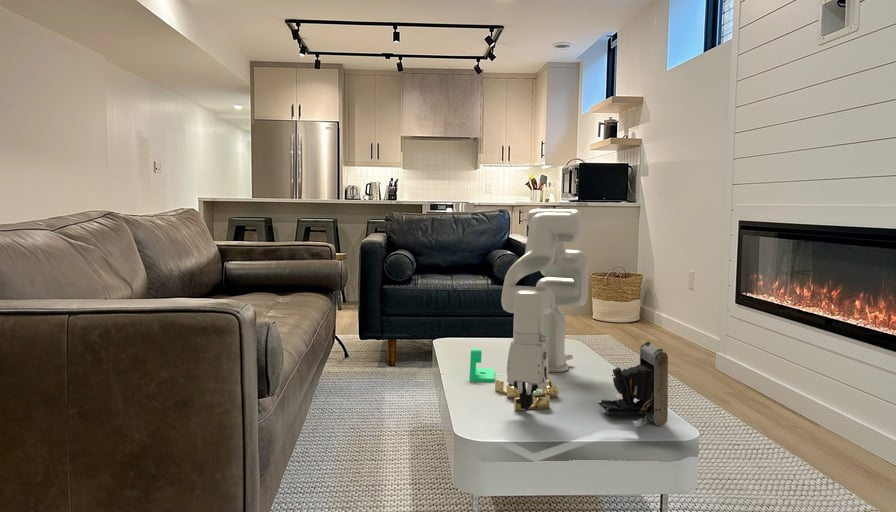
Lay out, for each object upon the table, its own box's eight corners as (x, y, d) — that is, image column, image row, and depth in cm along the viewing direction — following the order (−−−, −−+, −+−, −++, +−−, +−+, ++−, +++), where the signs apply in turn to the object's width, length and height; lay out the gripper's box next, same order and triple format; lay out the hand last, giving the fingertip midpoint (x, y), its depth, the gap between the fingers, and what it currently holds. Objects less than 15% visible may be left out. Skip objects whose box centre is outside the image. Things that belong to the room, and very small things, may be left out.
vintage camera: (596, 415, 155) (596, 343, 153) (652, 413, 156) (653, 340, 155) (609, 430, 146) (609, 352, 144) (668, 426, 147) (669, 350, 145)
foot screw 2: (543, 403, 159) (544, 391, 158) (552, 408, 154) (553, 396, 154) (510, 407, 155) (511, 395, 154) (518, 413, 151) (519, 400, 150)
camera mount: (494, 387, 178) (494, 354, 178) (469, 386, 179) (470, 353, 178) (494, 376, 190) (495, 345, 190) (471, 375, 191) (472, 344, 190)
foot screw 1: (525, 397, 163) (525, 385, 163) (513, 400, 161) (514, 388, 161) (501, 388, 172) (502, 377, 171) (490, 391, 169) (490, 379, 169)
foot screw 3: (558, 399, 163) (558, 386, 163) (542, 398, 163) (542, 386, 163) (556, 388, 173) (556, 376, 173) (541, 387, 173) (541, 376, 173)
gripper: (560, 339, 149) (558, 409, 150) (507, 332, 157) (505, 398, 158) (549, 344, 143) (547, 417, 144) (495, 337, 150) (493, 406, 152)
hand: (525, 407), depth 151 cm, fingers closed
